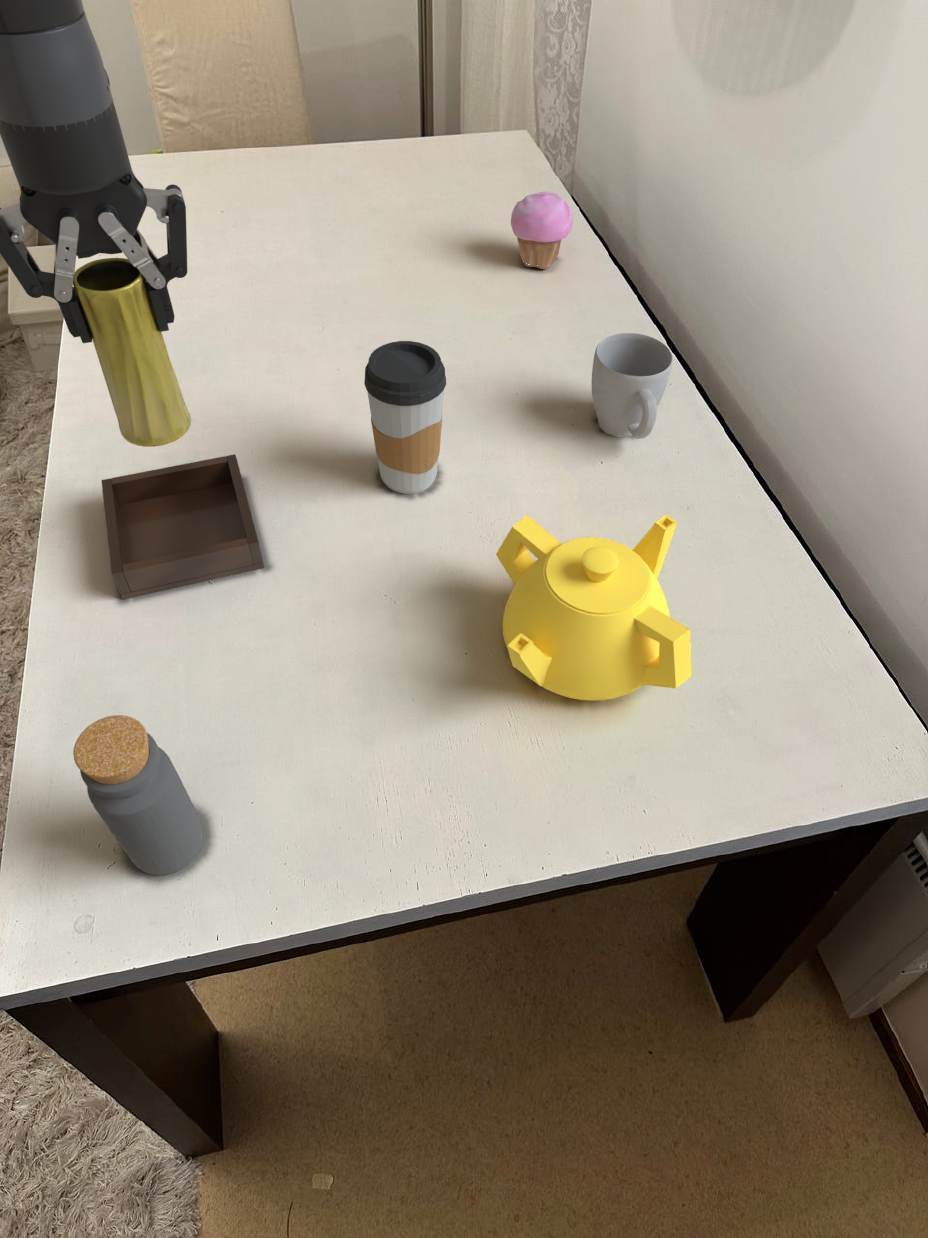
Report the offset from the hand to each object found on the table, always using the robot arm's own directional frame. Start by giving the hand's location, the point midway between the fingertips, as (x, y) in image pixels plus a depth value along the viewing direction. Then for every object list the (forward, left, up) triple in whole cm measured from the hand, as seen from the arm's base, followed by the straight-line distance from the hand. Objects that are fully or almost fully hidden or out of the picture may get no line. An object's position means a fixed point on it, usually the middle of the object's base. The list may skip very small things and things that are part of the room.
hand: (126, 330), depth 68 cm
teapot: (+33, -24, -26) cm, 48 cm away
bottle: (-7, -32, -26) cm, 41 cm away
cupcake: (+56, +44, -26) cm, 76 cm away
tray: (-1, +2, -25) cm, 25 cm away
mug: (+51, +4, -26) cm, 57 cm away
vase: (0, 0, -10) cm, 10 cm away
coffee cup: (+24, +4, -26) cm, 35 cm away
